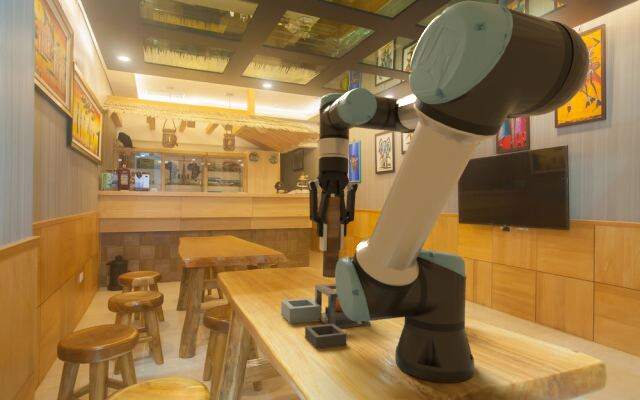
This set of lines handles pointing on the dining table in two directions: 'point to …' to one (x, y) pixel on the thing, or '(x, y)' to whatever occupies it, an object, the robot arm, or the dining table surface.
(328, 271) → the bar
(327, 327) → the stand
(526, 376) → the dining table surface
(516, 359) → the dining table surface
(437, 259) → the robot arm
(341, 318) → the guard frame
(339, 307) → the breaker button
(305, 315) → the grey square holder
